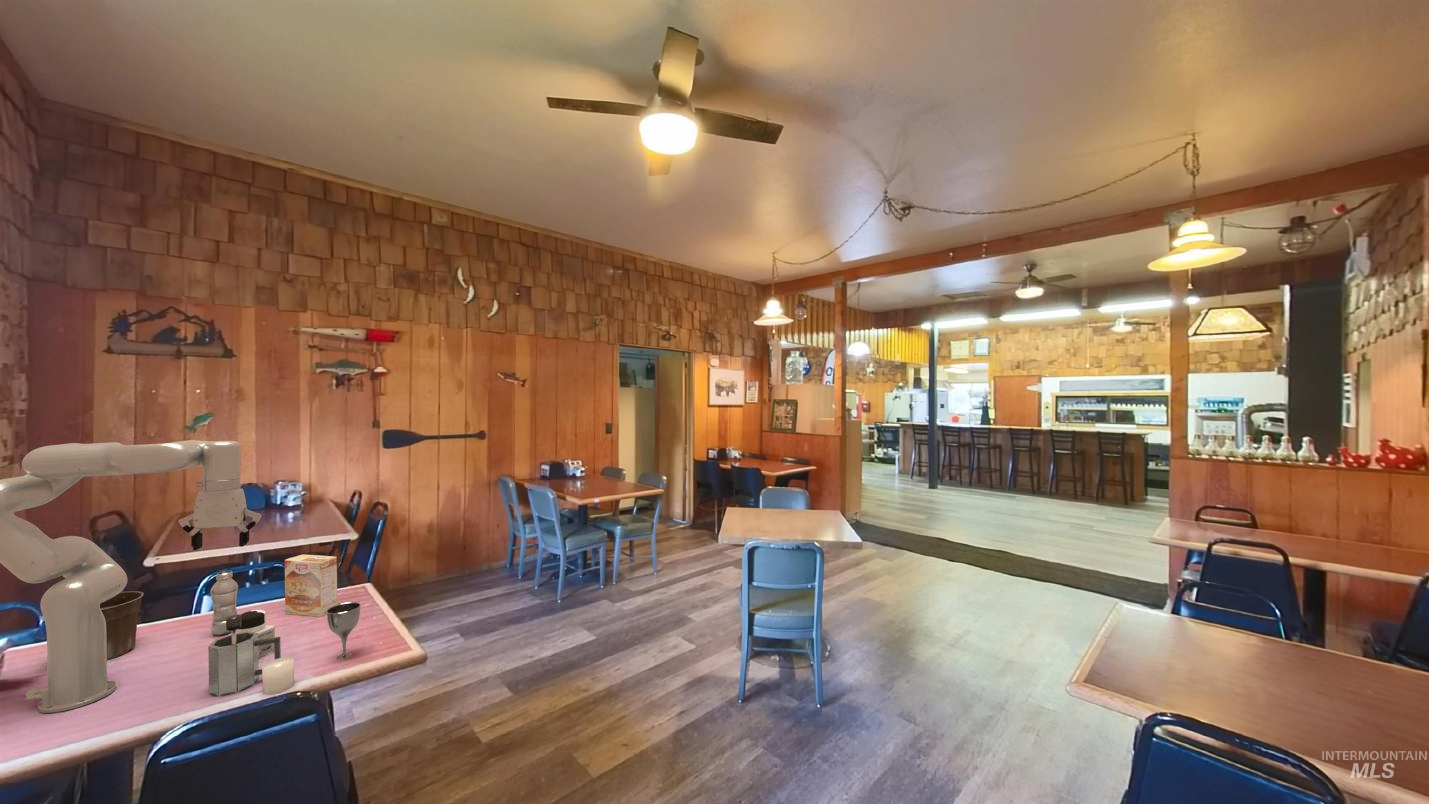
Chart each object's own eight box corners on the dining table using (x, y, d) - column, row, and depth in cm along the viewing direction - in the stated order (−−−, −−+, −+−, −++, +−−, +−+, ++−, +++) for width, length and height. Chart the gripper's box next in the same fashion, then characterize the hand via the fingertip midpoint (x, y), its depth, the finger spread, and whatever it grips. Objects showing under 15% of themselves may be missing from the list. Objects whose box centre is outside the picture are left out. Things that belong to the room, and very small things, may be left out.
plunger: (214, 686, 132) (213, 623, 131) (224, 675, 137) (223, 614, 137) (245, 680, 134) (244, 619, 134) (253, 670, 140) (252, 610, 139)
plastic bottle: (242, 631, 168) (241, 571, 168) (214, 639, 163) (213, 577, 162) (235, 626, 172) (235, 567, 172) (208, 634, 166) (207, 573, 166)
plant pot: (77, 673, 143) (76, 616, 143) (47, 663, 148) (46, 608, 148) (156, 646, 158) (155, 594, 158) (126, 638, 164) (126, 588, 163)
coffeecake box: (284, 614, 182) (283, 559, 181) (303, 606, 189) (302, 553, 188) (320, 617, 179) (319, 562, 179) (338, 608, 186) (337, 555, 186)
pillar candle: (257, 698, 131) (257, 671, 131) (269, 685, 137) (269, 659, 137) (287, 693, 133) (287, 666, 133) (298, 680, 139) (298, 655, 139)
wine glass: (363, 657, 152) (363, 607, 151) (330, 667, 146) (330, 615, 146) (357, 648, 157) (356, 599, 157) (325, 658, 151) (324, 607, 151)
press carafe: (203, 702, 129) (202, 651, 129) (218, 683, 138) (217, 636, 138) (274, 687, 136) (274, 639, 136) (285, 670, 144) (284, 625, 144)
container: (247, 663, 148) (247, 619, 148) (226, 661, 150) (226, 617, 149) (275, 650, 156) (275, 608, 155) (255, 648, 157) (255, 606, 157)
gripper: (172, 489, 134) (171, 554, 134) (256, 486, 141) (255, 547, 142) (187, 485, 141) (186, 546, 141) (266, 482, 148) (265, 540, 148)
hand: (220, 547), depth 141 cm, fingers open, 9 cm apart
